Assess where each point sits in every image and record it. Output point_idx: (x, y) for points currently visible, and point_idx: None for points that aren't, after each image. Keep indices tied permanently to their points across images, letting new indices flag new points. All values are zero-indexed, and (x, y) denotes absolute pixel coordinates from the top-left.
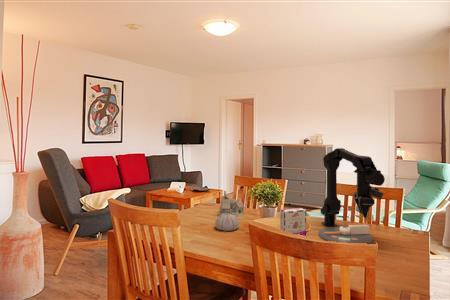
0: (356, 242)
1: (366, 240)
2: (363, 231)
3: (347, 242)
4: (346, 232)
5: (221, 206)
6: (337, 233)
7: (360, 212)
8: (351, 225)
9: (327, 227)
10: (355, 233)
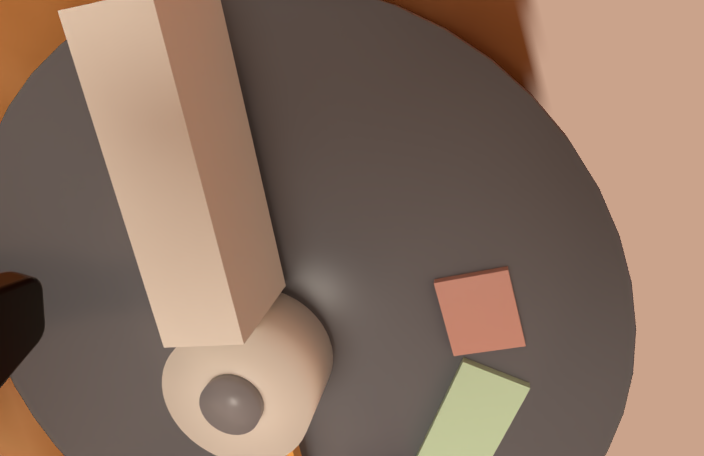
0: (601, 332)
1: (517, 156)
2: (227, 104)
3: (592, 437)
4: (323, 379)
5: None
6: (298, 445)
7: (23, 348)
8: (170, 309)
9: (44, 427)
10: (268, 225)
